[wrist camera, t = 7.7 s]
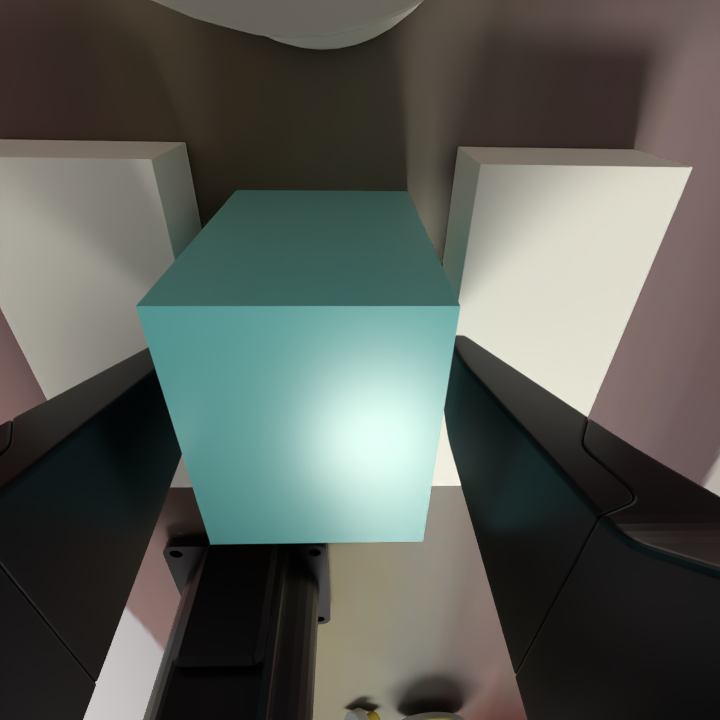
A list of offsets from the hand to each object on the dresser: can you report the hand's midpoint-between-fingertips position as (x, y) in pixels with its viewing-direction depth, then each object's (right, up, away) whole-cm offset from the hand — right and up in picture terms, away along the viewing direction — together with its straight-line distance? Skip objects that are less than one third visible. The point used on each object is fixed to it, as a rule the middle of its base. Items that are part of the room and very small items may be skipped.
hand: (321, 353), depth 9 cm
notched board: (0, +1, +3) cm, 3 cm away
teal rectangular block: (0, +2, +3) cm, 3 cm away
